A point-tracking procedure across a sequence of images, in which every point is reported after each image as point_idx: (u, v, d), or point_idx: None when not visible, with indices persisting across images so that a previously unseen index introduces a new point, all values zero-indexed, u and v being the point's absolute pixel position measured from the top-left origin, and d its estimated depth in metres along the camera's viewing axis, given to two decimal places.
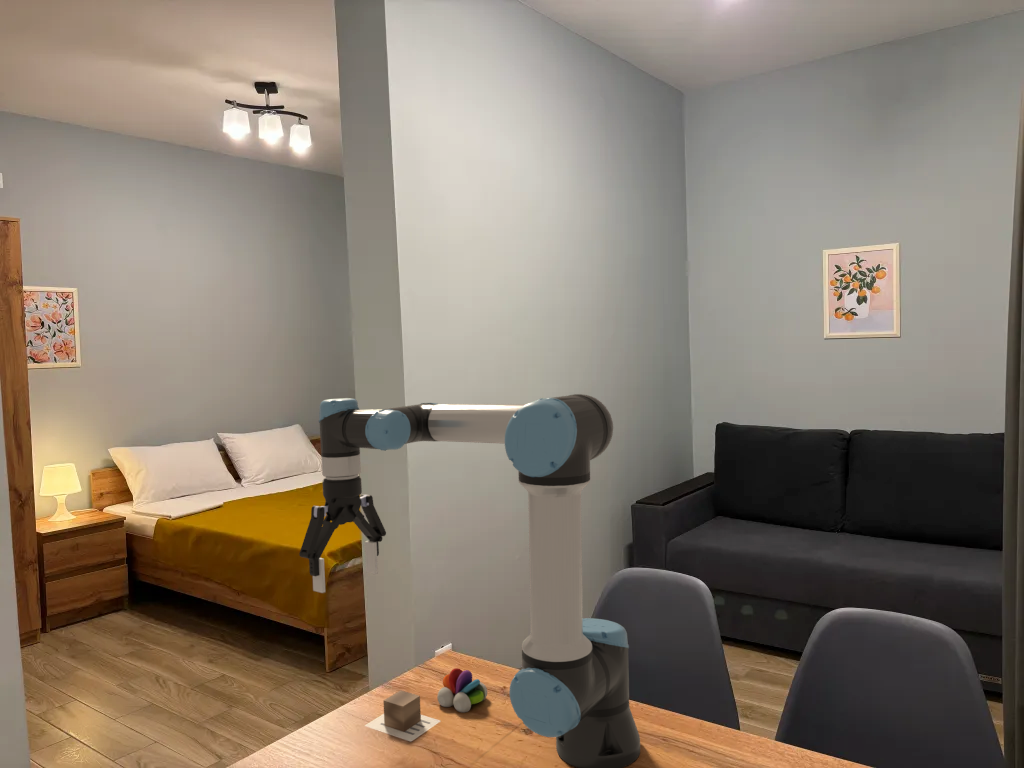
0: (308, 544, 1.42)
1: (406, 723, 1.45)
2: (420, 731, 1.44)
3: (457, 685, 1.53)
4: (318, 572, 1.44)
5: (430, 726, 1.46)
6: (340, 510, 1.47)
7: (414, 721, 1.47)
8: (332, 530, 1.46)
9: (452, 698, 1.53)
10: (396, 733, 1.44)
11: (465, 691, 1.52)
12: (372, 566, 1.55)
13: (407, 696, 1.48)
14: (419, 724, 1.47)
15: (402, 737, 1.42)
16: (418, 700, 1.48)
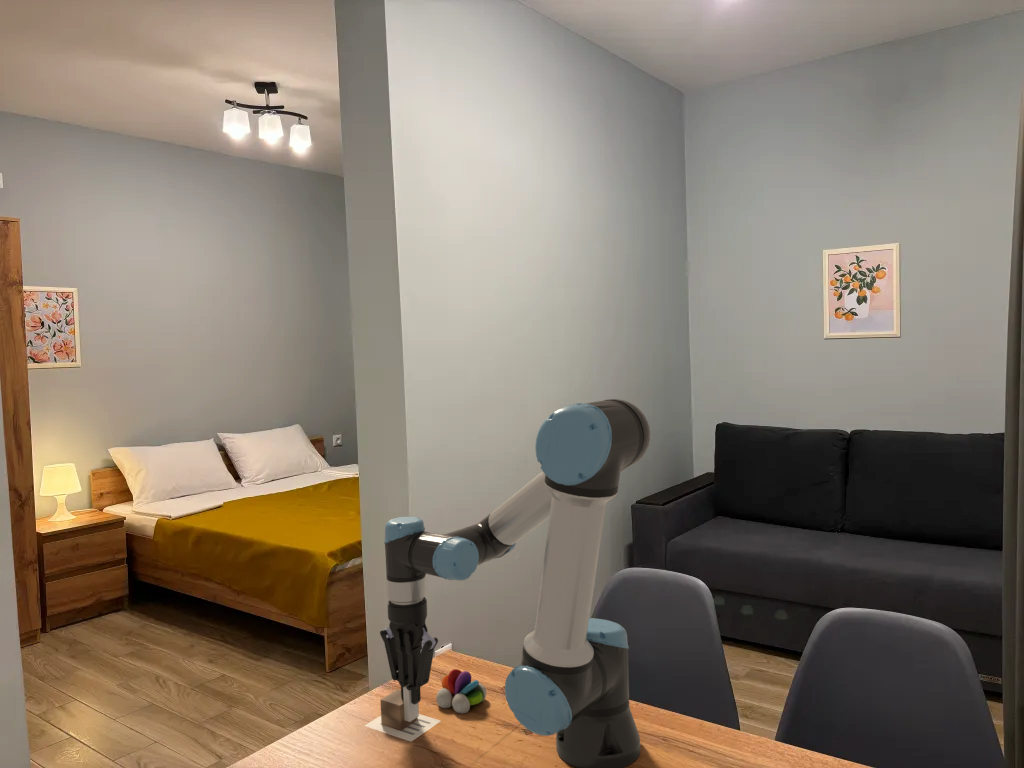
0: None
1: (403, 722, 1.45)
2: (420, 731, 1.44)
3: (456, 686, 1.53)
4: None
5: (430, 726, 1.46)
6: None
7: None
8: (400, 654, 1.45)
9: (451, 699, 1.53)
10: (396, 733, 1.44)
11: (464, 692, 1.52)
12: None
13: None
14: (419, 724, 1.47)
15: (402, 737, 1.42)
16: None
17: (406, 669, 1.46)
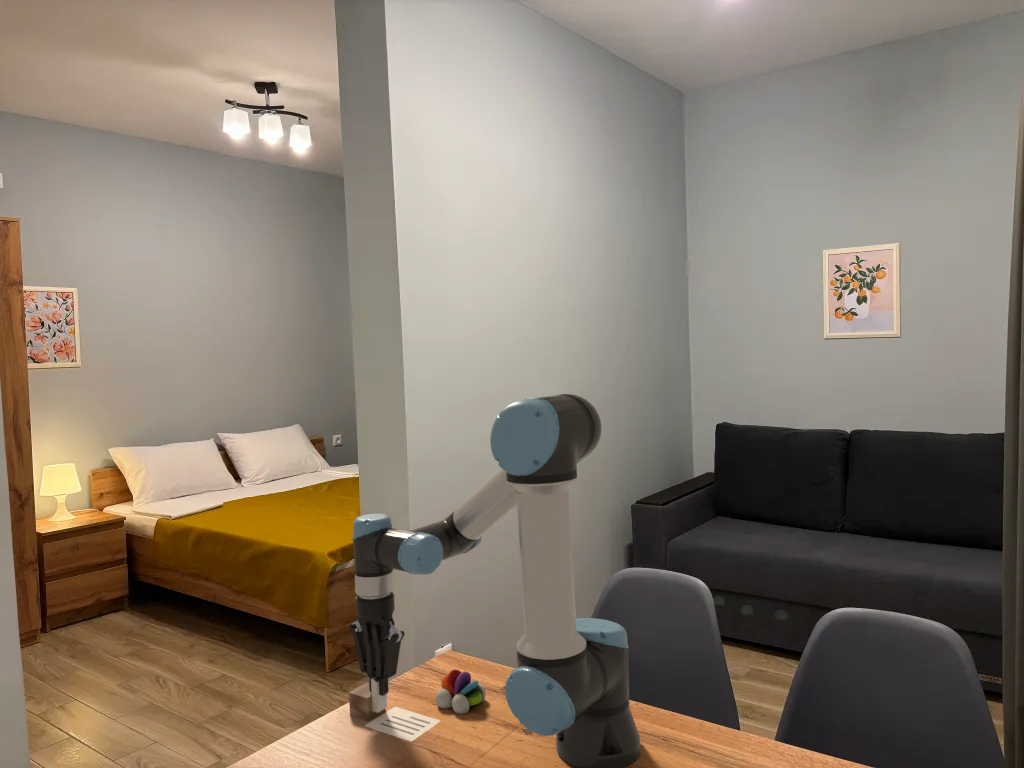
0: None
1: (371, 715, 1.50)
2: (420, 731, 1.44)
3: (455, 686, 1.53)
4: None
5: (430, 726, 1.46)
6: None
7: (379, 712, 1.52)
8: (368, 647, 1.50)
9: (450, 699, 1.53)
10: (396, 733, 1.44)
11: (463, 692, 1.52)
12: None
13: None
14: (419, 724, 1.47)
15: (402, 737, 1.42)
16: None
17: (374, 661, 1.50)
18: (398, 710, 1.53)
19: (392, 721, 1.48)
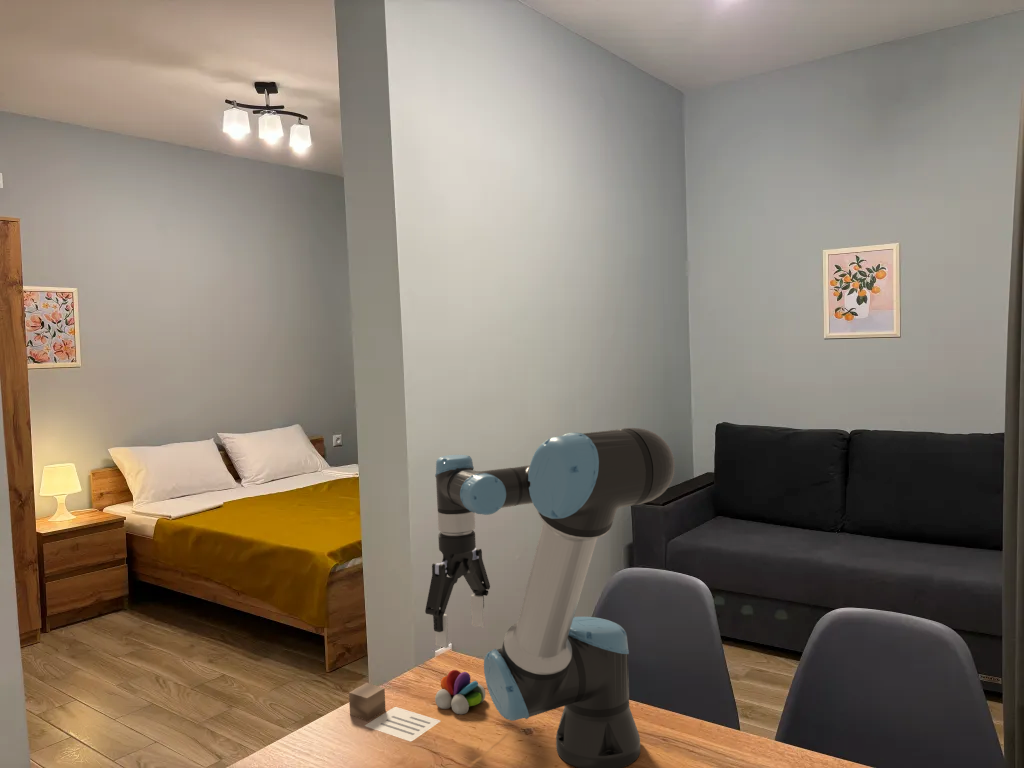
0: (434, 602, 1.47)
1: (371, 715, 1.50)
2: (420, 731, 1.44)
3: (455, 687, 1.52)
4: (442, 628, 1.49)
5: (430, 726, 1.46)
6: (457, 565, 1.52)
7: (379, 712, 1.52)
8: (452, 585, 1.51)
9: (450, 700, 1.52)
10: (396, 733, 1.44)
11: (463, 693, 1.51)
12: (479, 620, 1.59)
13: (372, 688, 1.53)
14: (419, 724, 1.47)
15: (402, 737, 1.42)
16: (383, 692, 1.53)
17: None
18: (398, 710, 1.53)
19: (392, 721, 1.48)
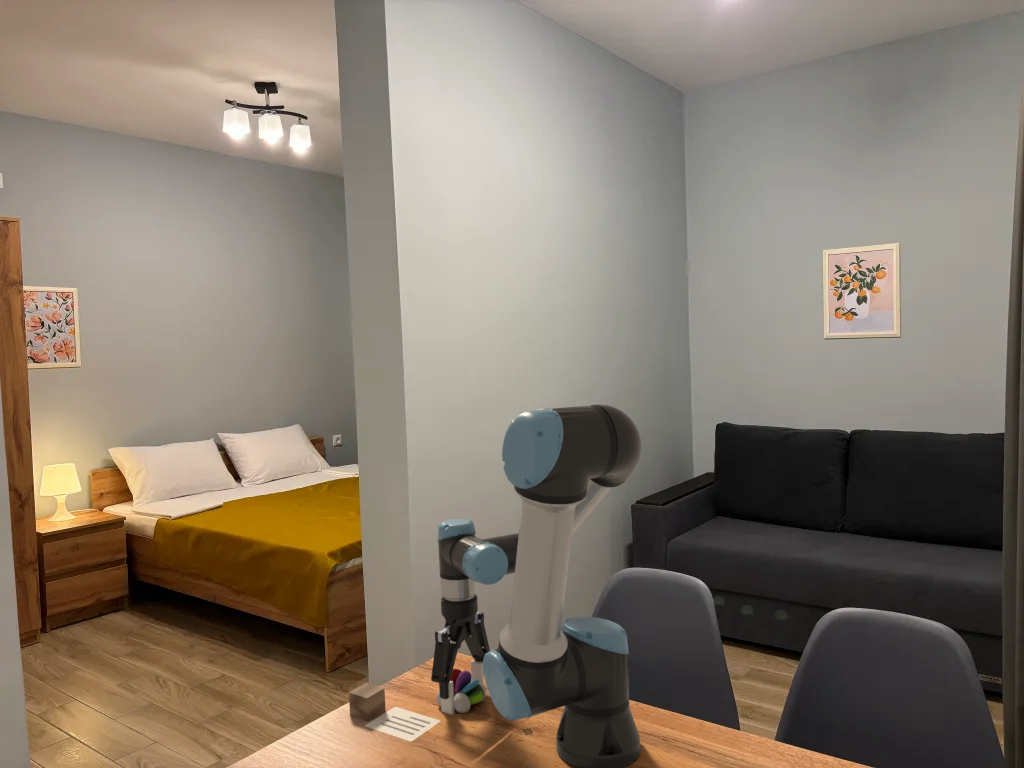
0: (439, 670, 1.48)
1: (371, 715, 1.50)
2: (420, 731, 1.44)
3: (456, 685, 1.53)
4: (448, 695, 1.50)
5: (430, 726, 1.46)
6: (459, 630, 1.53)
7: (378, 712, 1.52)
8: (456, 651, 1.52)
9: None
10: (396, 733, 1.44)
11: (464, 691, 1.52)
12: None
13: (372, 688, 1.53)
14: (419, 724, 1.47)
15: (402, 737, 1.42)
16: (383, 692, 1.53)
17: None
18: (398, 710, 1.53)
19: (392, 721, 1.48)
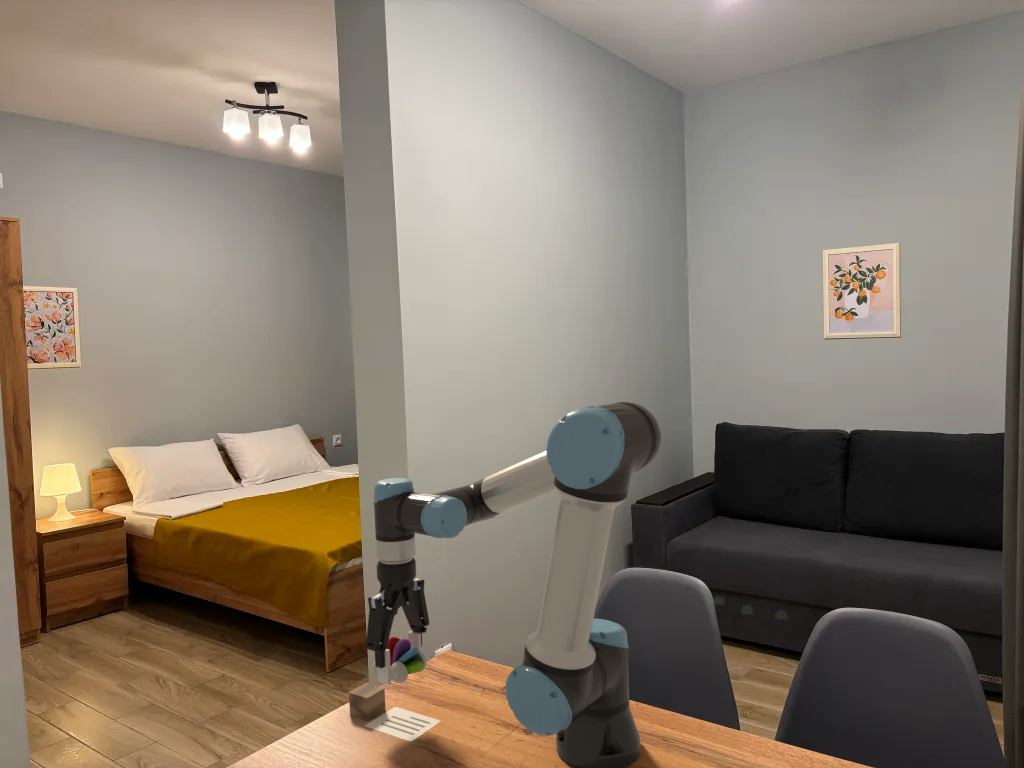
0: (373, 637, 1.40)
1: (371, 715, 1.50)
2: (420, 731, 1.44)
3: (394, 654, 1.45)
4: (384, 664, 1.42)
5: (430, 726, 1.46)
6: (395, 596, 1.44)
7: (378, 712, 1.52)
8: (392, 617, 1.43)
9: None
10: (396, 733, 1.44)
11: (402, 660, 1.44)
12: None
13: (372, 688, 1.53)
14: (419, 724, 1.47)
15: (402, 737, 1.42)
16: (383, 692, 1.53)
17: None
18: (398, 710, 1.53)
19: (392, 721, 1.48)
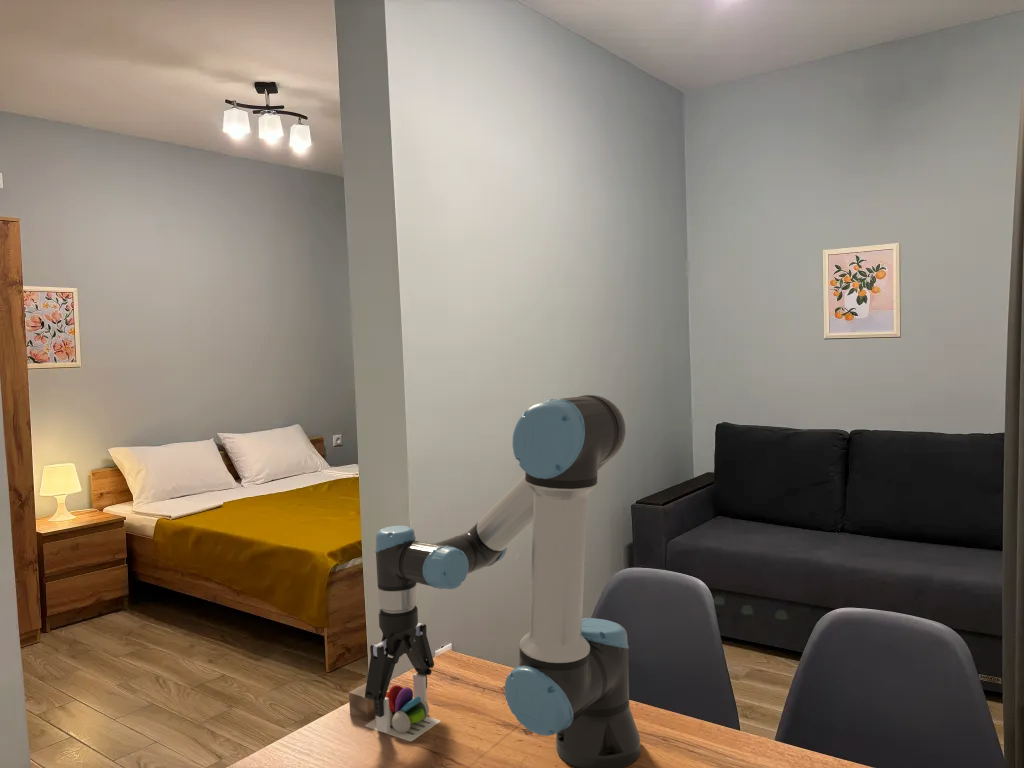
0: (373, 686, 1.40)
1: (371, 715, 1.50)
2: (420, 731, 1.44)
3: (396, 703, 1.45)
4: (383, 713, 1.42)
5: (430, 726, 1.46)
6: (397, 644, 1.44)
7: None
8: (393, 666, 1.43)
9: (391, 717, 1.45)
10: (396, 733, 1.44)
11: (404, 710, 1.44)
12: None
13: None
14: (419, 724, 1.47)
15: (402, 737, 1.42)
16: None
17: None
18: None
19: None
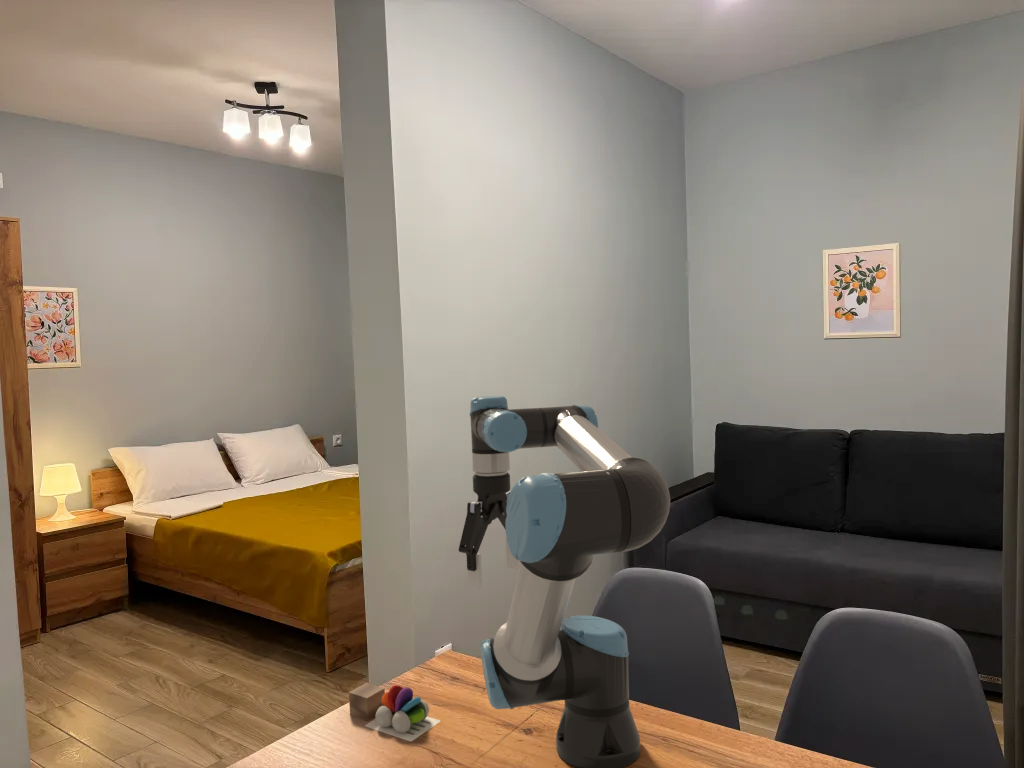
0: (468, 539, 1.45)
1: (371, 715, 1.50)
2: (420, 731, 1.44)
3: (396, 703, 1.45)
4: (475, 567, 1.46)
5: (430, 726, 1.46)
6: (492, 506, 1.50)
7: None
8: (486, 525, 1.48)
9: (391, 717, 1.45)
10: (396, 733, 1.44)
11: (404, 710, 1.44)
12: (514, 561, 1.58)
13: (373, 688, 1.53)
14: (419, 724, 1.47)
15: (402, 737, 1.42)
16: (383, 692, 1.53)
17: None
18: None
19: None
